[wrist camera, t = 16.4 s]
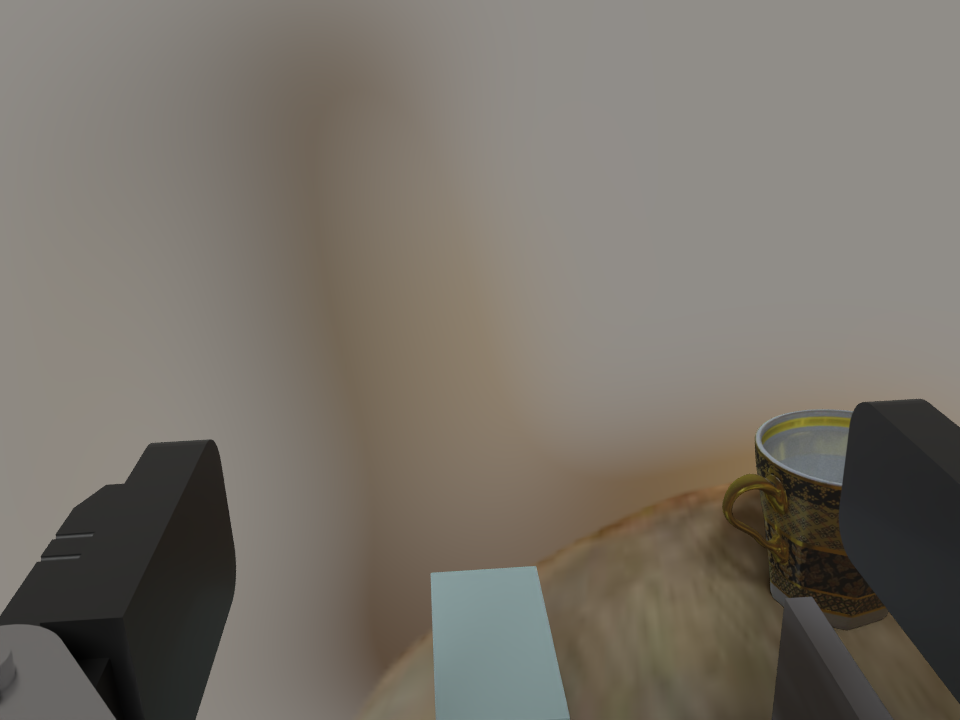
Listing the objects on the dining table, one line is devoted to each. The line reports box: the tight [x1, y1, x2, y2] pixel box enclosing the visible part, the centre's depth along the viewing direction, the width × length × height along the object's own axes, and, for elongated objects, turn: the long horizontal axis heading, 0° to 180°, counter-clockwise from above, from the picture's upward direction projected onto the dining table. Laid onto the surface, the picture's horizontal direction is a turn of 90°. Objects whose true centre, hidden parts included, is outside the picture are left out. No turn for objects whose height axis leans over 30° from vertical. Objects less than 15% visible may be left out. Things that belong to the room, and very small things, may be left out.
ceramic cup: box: [722, 409, 889, 630], centre depth 53 cm, size 13×10×10 cm
